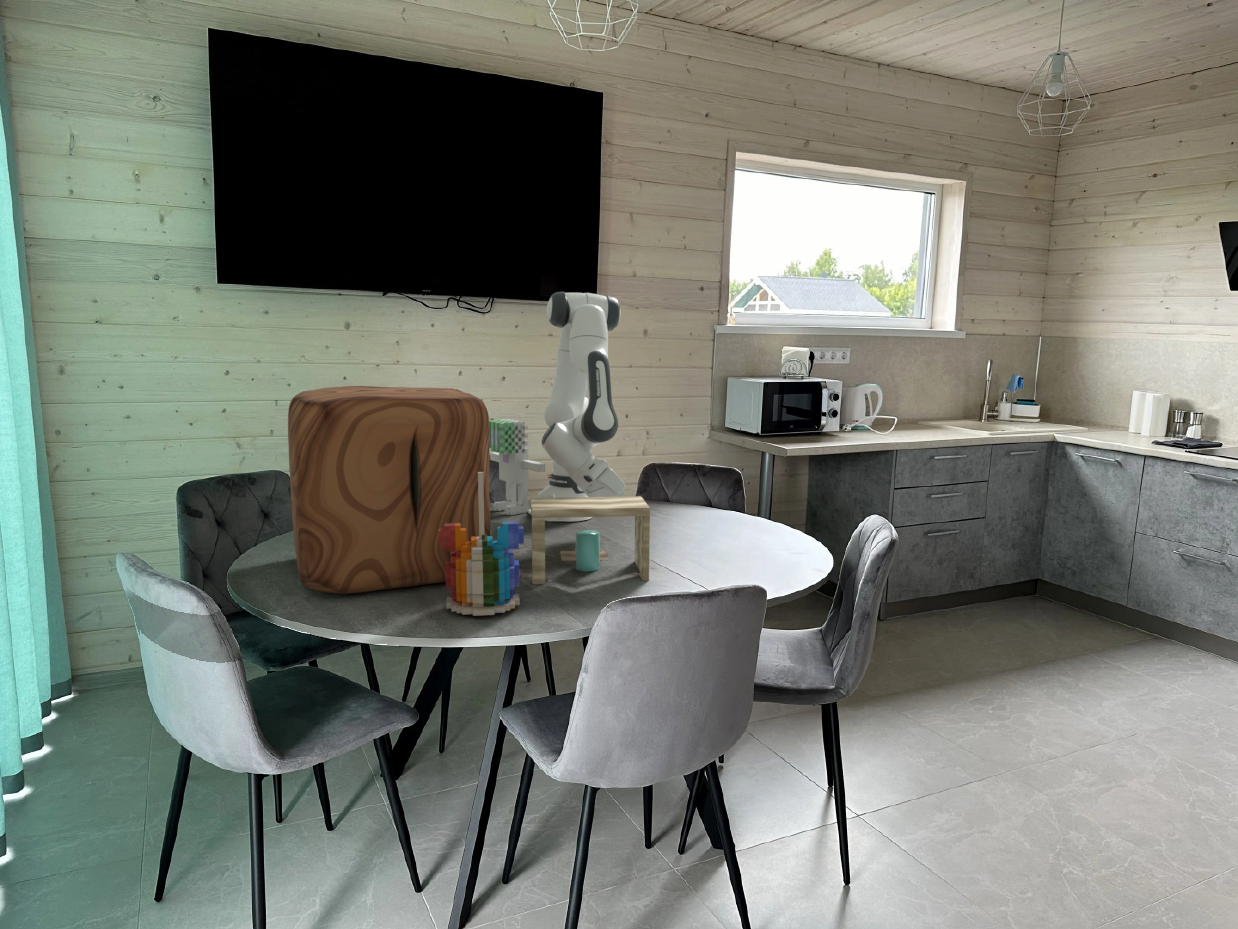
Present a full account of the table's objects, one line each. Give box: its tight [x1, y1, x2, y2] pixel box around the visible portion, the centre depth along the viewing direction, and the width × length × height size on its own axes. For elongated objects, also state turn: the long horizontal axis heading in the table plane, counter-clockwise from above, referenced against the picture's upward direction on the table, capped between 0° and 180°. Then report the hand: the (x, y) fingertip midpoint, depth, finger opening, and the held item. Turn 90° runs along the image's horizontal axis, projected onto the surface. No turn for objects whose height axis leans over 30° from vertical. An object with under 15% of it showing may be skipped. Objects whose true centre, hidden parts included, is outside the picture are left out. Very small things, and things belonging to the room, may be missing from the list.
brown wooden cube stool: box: [287, 385, 491, 595], centre depth 216 cm, size 45×45×45 cm
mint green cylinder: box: [575, 529, 601, 572], centre depth 218 cm, size 6×6×10 cm
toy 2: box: [489, 418, 546, 516], centre depth 285 cm, size 30×10×30 cm, turn 39°
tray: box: [559, 549, 609, 562], centre depth 231 cm, size 10×12×1 cm
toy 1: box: [439, 472, 525, 617], centre depth 188 cm, size 18×16×30 cm
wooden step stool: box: [529, 495, 651, 585], centre depth 215 cm, size 14×28×18 cm, turn 97°
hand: (622, 507), depth 245 cm, fingers open, 8 cm apart
